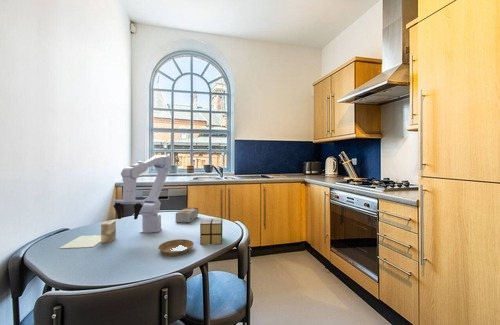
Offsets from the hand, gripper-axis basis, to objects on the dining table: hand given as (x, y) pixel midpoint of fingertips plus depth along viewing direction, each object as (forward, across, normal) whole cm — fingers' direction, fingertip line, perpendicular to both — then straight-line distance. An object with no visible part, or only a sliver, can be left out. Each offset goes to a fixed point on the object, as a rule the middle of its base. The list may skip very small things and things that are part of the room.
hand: (127, 219), depth 113 cm
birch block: (+11, -9, 0) cm, 14 cm away
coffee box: (+4, +20, +29) cm, 36 cm away
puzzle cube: (+10, +42, -2) cm, 43 cm away
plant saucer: (+11, +27, -13) cm, 32 cm away
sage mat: (+11, -19, 0) cm, 22 cm away
